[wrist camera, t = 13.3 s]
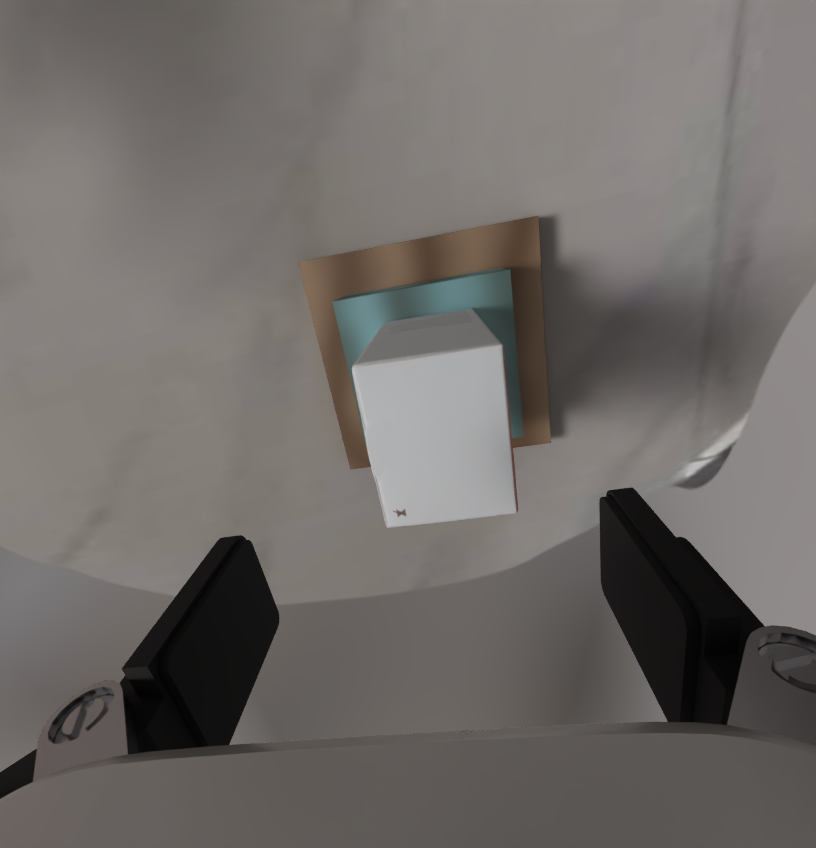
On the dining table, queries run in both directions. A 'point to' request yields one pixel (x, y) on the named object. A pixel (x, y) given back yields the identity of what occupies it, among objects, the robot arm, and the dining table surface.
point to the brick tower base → (424, 266)
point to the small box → (437, 419)
